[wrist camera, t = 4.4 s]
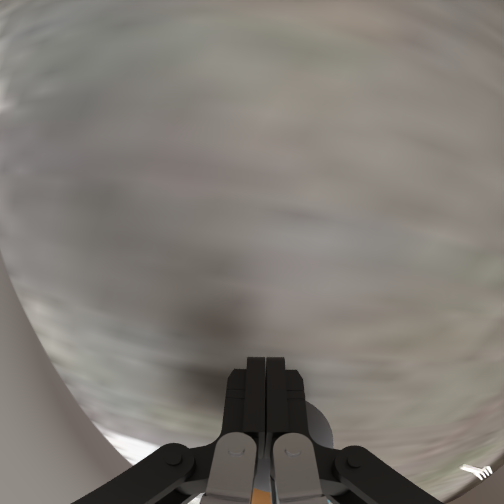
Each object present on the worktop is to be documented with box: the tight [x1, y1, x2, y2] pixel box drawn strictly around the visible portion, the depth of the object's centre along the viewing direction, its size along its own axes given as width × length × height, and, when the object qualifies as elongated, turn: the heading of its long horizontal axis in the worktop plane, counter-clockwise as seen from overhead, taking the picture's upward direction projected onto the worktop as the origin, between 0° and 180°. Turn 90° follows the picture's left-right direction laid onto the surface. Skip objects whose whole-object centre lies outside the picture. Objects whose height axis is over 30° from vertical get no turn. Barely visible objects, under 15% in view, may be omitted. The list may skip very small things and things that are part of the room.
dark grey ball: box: [254, 401, 333, 492], centre depth 13 cm, size 6×6×6 cm
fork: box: [459, 464, 492, 480], centre depth 26 cm, size 3×20×2 cm, turn 49°
